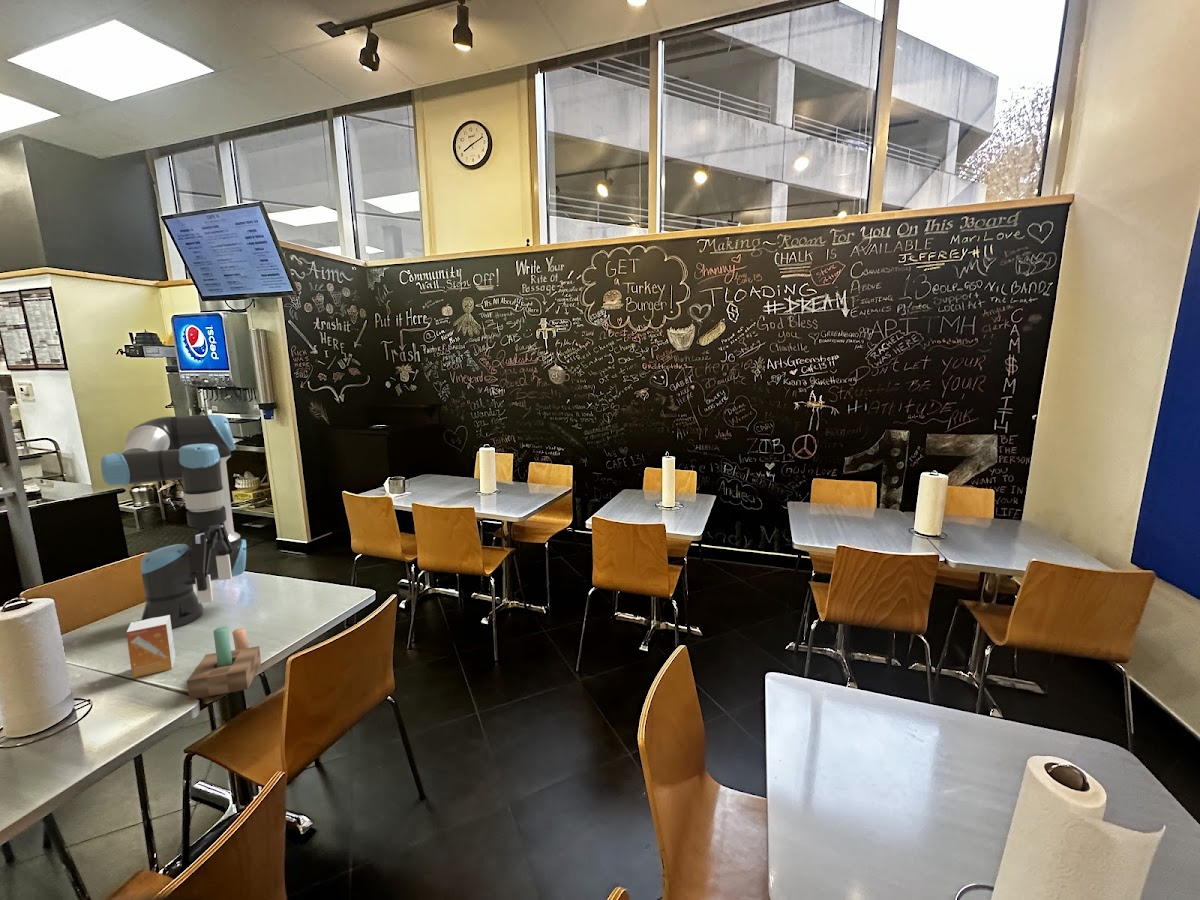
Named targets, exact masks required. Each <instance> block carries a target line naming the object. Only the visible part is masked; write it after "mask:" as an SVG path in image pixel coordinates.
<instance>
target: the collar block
mask: <svg viewBox="0 0 1200 900" xmlns="http://www.w3.org/2000/svg"><path fill="white" fill-rule="evenodd" d="M231 655H232V665H230V666H224V667H218V664H217V656H216V652H215V653H208V654H205V655H204V656H203V658H202V659H201V661H200V662H199V663H198V665H197V666H196V667H195V669H194V670H193V671H192V673H191V675H190V676H189V677H188V678H187V680H186V685H187V691H188V693H187V694H188V699H189V700H194V699H201V698H205V697H212V696H216V695H222V694H228V693H234V692H239V691H244V690H248V689H249V688H250V687H251V686H250V685H251V683H252V682H253V680H254V677H255V675H256V673H257V672H258V670H259V668H260V667H261V664H262V662H261V652H260V646H253V647H249V648H245V649H239V650H235V649H234V650H232V649H231Z"/></svg>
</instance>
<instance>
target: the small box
mask: <svg viewBox="0 0 1200 900" xmlns="http://www.w3.org/2000/svg"><path fill="white" fill-rule="evenodd" d="M172 629H173V628H171V620H170V615H166V616H162V617H156V618H150V619H146V620H141V619H140V620H137V621H131V622H130V624H129V626H128V628H127V630H126V632H125V633H126V641H127V648H128V656H129V662H130V664H129V665H130V670H131V677H132V679H136V678H139V677H143V676H146V675H147V676H148V675H152V674H155V673H160V672H163V671H169V670H173V667H174V665H175V660H176V651H175V643H174V636H173V630H172Z"/></svg>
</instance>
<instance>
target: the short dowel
mask: <svg viewBox="0 0 1200 900" xmlns="http://www.w3.org/2000/svg"><path fill="white" fill-rule="evenodd" d="M247 636H248V635H247V630H246V628H245V627H240V628H237V629H235V630H233V631H232V639H233V644H234V650H239V649H245V648H250V647H249V642H248V637H247Z"/></svg>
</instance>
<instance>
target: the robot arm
mask: <svg viewBox="0 0 1200 900" xmlns="http://www.w3.org/2000/svg"><path fill="white" fill-rule="evenodd" d="M236 449H237V448H236V444H235V440H234V436H233V433H232V429H231V426H230V422H229V420H228V418H227V417H226V416H225V415H222V414H197V415H196V414H195V415H180V416H179V415H178V416H162V417H158V418H154V419H151V420H147V421H145V422H142V423H140V424H138V425H136V426H135V427H133V428H132V429H131V430H130V431H129V432H128V434H127V435H126V437H125V447H124V449H123V450H122V451H121V452H115V453H108V454H104V455H103V456H102V457H101V459H100V473H101V476H102V480H103V482H104V483H105V484H106V485H108V486H121V485H123V486H128V485H134V484H142V483H143V484H144V483H153V482H154V483H155V482H163V481H173V480H175V481H176V480H182V487H183V495H182V498H181V499H182V500H183V501H184V503H185V509H187V511H186V513H185V514H186V520H187V525H188V526H189V527H191V528H196V529H197V532H196V534H192V535H191V536H190V537H191V548H190V547H189V545H188V544H186V543H177V544H172V545H167V546H163V547H160V548H158V549H154V550H152V551H150V552H148V553H146V554H145V555H144V556H143V557H142V558H141V560H140V574H141V576H142V577H141V578H142V582H143V583H142V584H143V590H144V596H145V597H144V598H145V605H144V608H143V611H142V615H141V619H140V621H141V620H146V619H150V618H156V617H162V616H166V615H170V620H171V628H172V629H175V628H179V627H182V626H185V625H188V624H190V623H193V622H194V621H196V620H198V619H199V618H201V617H202V616H203V614H204V607H203V604H205V603H212V602H213V601H214V597H213V596H214V594H213V587H212V581H226V580H232V578H233V577H238V576H240V575H242V574H244V572H245V570H246V563H247V540H246V539H244V538H243V539H241V534H239V533H238V532H236V531H235V528H234V521H233V520H234V518H233V512H232V511H233V510H232V502H231V494H230V485H229V477H228V476H229V475H228V468H227V461H228V460H229V458H231V457H232V453H231V452H232V451H235V450H236ZM194 585H195V588H196V593H195V591H194Z"/></svg>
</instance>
